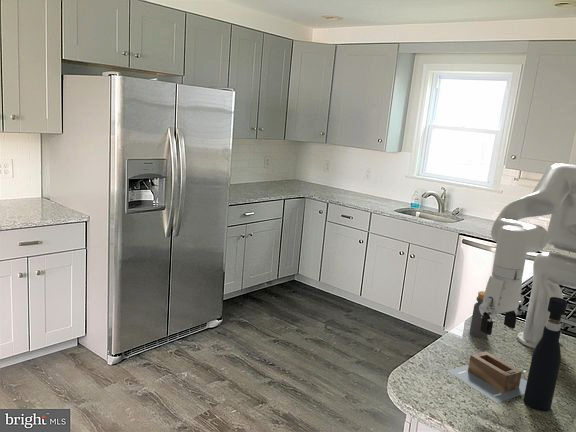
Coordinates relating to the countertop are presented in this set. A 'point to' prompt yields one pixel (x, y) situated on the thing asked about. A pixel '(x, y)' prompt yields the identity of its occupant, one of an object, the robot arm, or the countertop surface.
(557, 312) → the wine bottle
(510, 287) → the robot arm
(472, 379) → the board
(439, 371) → the countertop surface
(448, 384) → the countertop surface
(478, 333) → the bottle
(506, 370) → the frame
